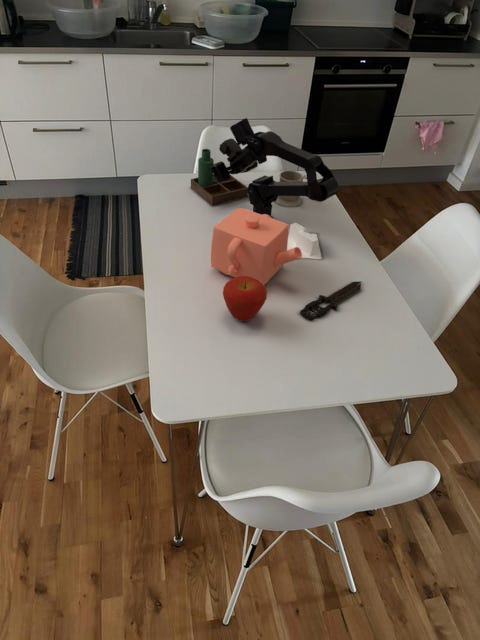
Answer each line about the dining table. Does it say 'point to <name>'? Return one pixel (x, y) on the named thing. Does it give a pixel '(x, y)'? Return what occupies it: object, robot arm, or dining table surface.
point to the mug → (290, 177)
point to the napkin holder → (303, 242)
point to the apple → (244, 297)
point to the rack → (221, 191)
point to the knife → (326, 299)
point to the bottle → (205, 169)
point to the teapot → (251, 245)
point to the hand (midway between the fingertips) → (221, 176)
